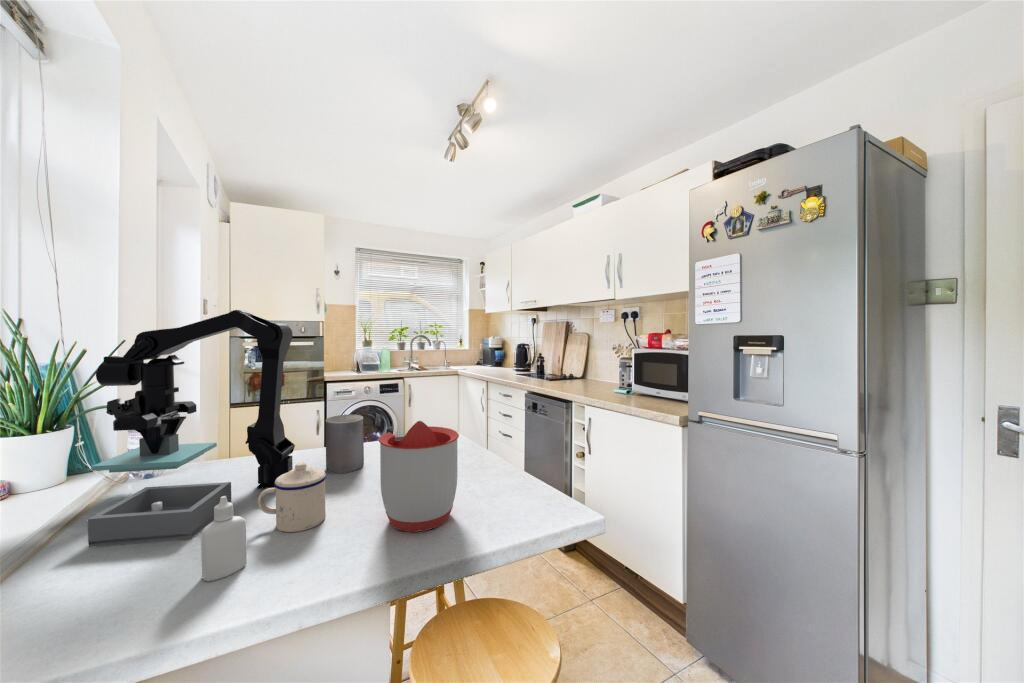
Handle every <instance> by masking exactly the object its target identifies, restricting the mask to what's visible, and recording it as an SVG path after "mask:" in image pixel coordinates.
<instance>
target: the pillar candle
mask: <svg viewBox="0 0 1024 683" xmlns="http://www.w3.org/2000/svg"><path fill="white" fill-rule="evenodd" d="M364 440H365V439H364V416H362V415H360V414H346V413H344V414H340V415H334V416H331V417H328V418H325V470H326V472H328V473H330V474H348V473H351V472H354V471H356V470H359V469H362V468H363V467H364V465H365V458H364V454H365V453H364V450H365V449H364V448H365V447H364V444H365V443H364Z"/></svg>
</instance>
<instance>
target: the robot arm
mask: <svg viewBox="0 0 1024 683" xmlns="http://www.w3.org/2000/svg"><path fill="white" fill-rule="evenodd" d="M236 329H238V330H240V331H242V332H243V333H246V334H247V335H249V336H251V337H254V338H256V344H257V345H256V346H257V349H258V351H259V355H260V356H261V357H260V358H261V370H260V372H261V374H260V385H259V386H260V388H259V397H258V398H259V399H258V400H259V401H258V402H259V403H258V413H257V414H258V416H257V420H256V421H255V422H253V423H252V424H250V425H248V426H247V427H246V428H247V429H246V433H247V438H246V441H245V445H247V444H248V445H247V446H248V451H249V452H250V453H252V455H253V456H255V459H256V461H257V464H258V465H259V466H258V467H257V484H258V485H257V487H256V488H257V490H259V489H268V488H276V487H275V486H274V483H275V480H276V479H277V478H278V477H279V476H281V475H282V474H285V473H287V472H289V471H290V470H292V469H294V468H293V467H294V466H293V455H291V454H293V452H294V450H295V447H296V445H295V444H294V442H292V441H291V440H290V439H288V438H287V437H286V435H285V434H286V433H285V427H284V426H285V425H284V424H283V420H282V419H281V405H282V391H283V390H282V388H283V387H282V386H283V375H284V360H285V358H286V356H287V353H288V351H289V349H290V347H291V346H290V345H291V343H292V340H293V339H292V338H293V334H294V333H293V331H292V330H293V329H292V328H290V326H289V325H287V324H286V323H284V322H283V323H282V322H273V321H270V320H267V319H265V318H262V317H260V316H258V315H255V314H252V313H250V312H249V311H247V310H241V309H235V310H234V309H233V310H231V311H229V312H227V313H224V314H220V315H217V316H213V317H209V318H206V319H203V320H200V321H197V322H193V323H190V324H187V325H183V326H179V327H175V328H174V327H172V328H162V329H152V330H146V331H142V332H139V333H138V334H137V335H136V336H135V338H134V343H133V344H132V345H131V346H130V348H129V349H128V350H127V351H126V353H124V355H123V356H118V355H109V356H103V362H101V363H100V365H99V366H98V367H97V370H96V372H95V378H96V381H97V382H98V384H99V385H100V386H103V387H114V386H115V387H121V386H124V387H125V386H137V385H138V384H140V390H135V393H134V398H131V399H126V400H123V399H122V398H114V399H112V400H109V401H107V402H106V412H105V413H106V414H108V415H110V416H114V420H113V422H112V426H113V427H112V428H113V429H112V430H113V431H115V432H116V431H117V432H118V431H119V432H121V431H135V432H137V433H139V434H140V436H142V437H141V438H144V440H145V442H146V444H147V446H148V448H149V450H150V452H151V453H152V454H156V453H158V451H159V449H160V446H161V442H162V439H163V436H164V435H165V434H178V433H177V432H178V430H179V429H180V427H181V425H183V422H184V421H185V420H186V419H187V415H186V416H185V415H183V416H181V414H180V413H187V414H189V415H191V414H193V413H197V404H196V402H194V401H192V400H190V401H189V400H188V401H176V400H175V397H176V396H175V394H176V393H179V392H180V391H179V390H180V389H179V388H180V387H179V386H175V372H174V371H175V370H174V369H175V368H174V367H175V366H179V365H181V366H182V365H185V361H184V360H183V359H181V358H179V357H178V356H177V355H176V354H173V353H176V352H178V351H180V350H182V349H184V348H185V347H186V346H189V344H192V343H194V342H196V341H200V340H202V339H206V338H211V337H213V336H215V335H216V336H217V335H219V334H223V333H226V332H229V331H233V330H236ZM166 355H167V356H166ZM161 356H166V358H165V357H163V358H162V357H161ZM160 357H161V358H160ZM148 360H149V361H148ZM145 361H148V362H145Z"/></svg>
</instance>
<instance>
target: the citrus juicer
mask: <svg viewBox="0 0 1024 683" xmlns="http://www.w3.org/2000/svg"><path fill="white" fill-rule="evenodd" d="M459 436H460V434H459V433H458V432H457V430H454V429H451V428H447V427H442V426H429V425H427V424H426V423H425V422H424V421H422V420H417V421H416V422H415V423H414V424H412V426H411V427H410V428H409V430H407V432H406V433H405V435H404V436H403V437H404V438H403V440H395V437H396V435H395V434H393V433H392V432H390V431H387V432H386V433H384V434H382V435H381V436H380V437H379V438H378V442H379V445H380V447H379V448H380V451H379V453H380V458H379V460H380V463H379V464H380V468H379V469H380V471H379V472H380V493H381V498H382V502H383V503H382V504H383V507H384V510H385V514H386V516H387V519H388V521H389V523H390V524H391V526H392V527H394V528H395V529H397V530H400V531H404V532H410V533H417V532H422V531H428V530H431V529H432V530H433V529H434V528H437V527H439V526H441V525H442V524H444V523H445V522H446V521H447V520H448V519H449V517H450V515H451V512H452V510H453V507H454V502H455V498H456V497H455V496H456V492H457V486H458V439H459V438H460V437H459Z"/></svg>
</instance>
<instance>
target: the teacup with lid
mask: <svg viewBox="0 0 1024 683" xmlns="http://www.w3.org/2000/svg"><path fill="white" fill-rule="evenodd" d="M326 479H327V474H326V472H325V471H324V470H322V469H320V468H313V467H310V466H307V463H306V462H297V463H296V464H295V465H294V468H293V469H292V470H290V471H289V472H287V473H285V474H282V475H281V476H279V477H278V478H277V479H276V480H275V483H274V486H275V487H276V488H265V489H264V490H263V491H262V492H260V494H259V495H258V498H257V503H258V507H259V509H260V510H261V511H262V512H263V513H265V514H268V515H275V521H276V522H275V524H276V526H275V527H276V528H277V529H278V530H279V531H281V532H284V533H296V532H303V531H307V530H310V529H312V528H314V527H316V526H318V525H320V524H321V523H323V521H324V520H325V518H326V515H327V514H326ZM271 493H275V508H270V507H267V506H266V504H265V502H264V496H265V495H267V494H271Z"/></svg>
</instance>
